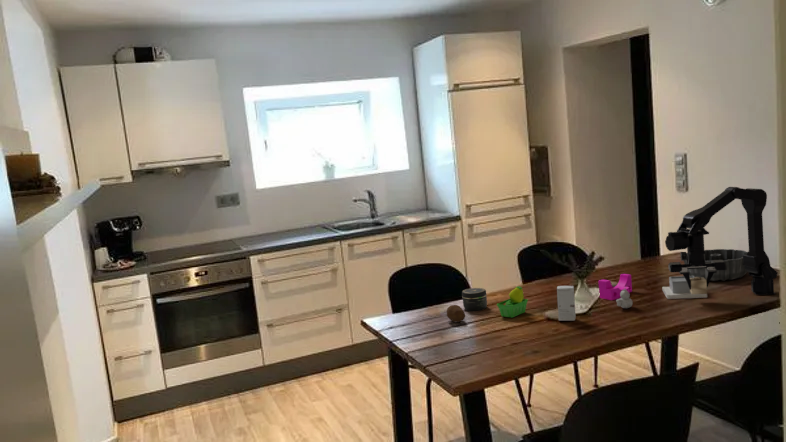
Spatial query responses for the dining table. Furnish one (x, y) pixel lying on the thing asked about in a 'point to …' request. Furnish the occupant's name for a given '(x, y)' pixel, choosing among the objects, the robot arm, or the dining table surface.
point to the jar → (474, 299)
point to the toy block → (614, 292)
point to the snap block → (698, 285)
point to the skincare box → (566, 303)
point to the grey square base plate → (680, 289)
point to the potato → (455, 313)
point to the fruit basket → (513, 304)
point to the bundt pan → (729, 257)
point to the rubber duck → (624, 299)
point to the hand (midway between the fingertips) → (698, 288)
